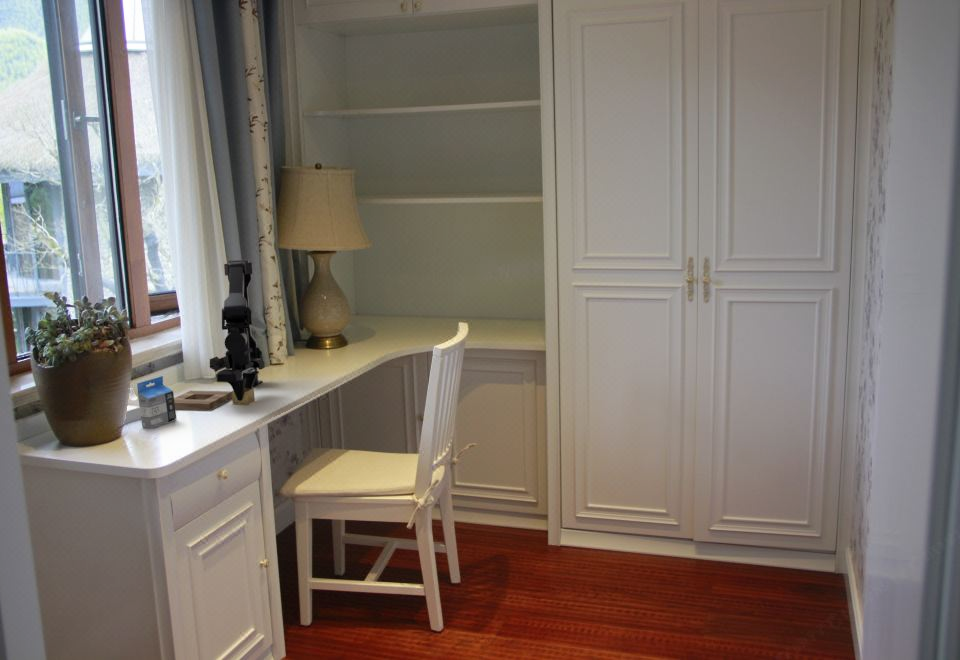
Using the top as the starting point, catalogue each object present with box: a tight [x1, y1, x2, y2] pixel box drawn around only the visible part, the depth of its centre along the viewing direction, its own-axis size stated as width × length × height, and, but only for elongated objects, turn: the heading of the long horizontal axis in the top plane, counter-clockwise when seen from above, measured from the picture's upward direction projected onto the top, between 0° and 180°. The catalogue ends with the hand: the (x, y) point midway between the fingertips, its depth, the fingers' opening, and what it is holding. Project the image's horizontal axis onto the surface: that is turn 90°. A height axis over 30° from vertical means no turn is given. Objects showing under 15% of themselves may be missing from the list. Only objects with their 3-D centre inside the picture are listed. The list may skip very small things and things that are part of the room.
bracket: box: [123, 387, 141, 425], centre depth 238 cm, size 13×7×8 cm, turn 152°
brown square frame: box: [174, 390, 233, 412], centre depth 254 cm, size 14×14×2 cm
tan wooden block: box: [231, 387, 256, 406], centre depth 253 cm, size 4×5×4 cm
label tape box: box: [136, 375, 177, 429], centre depth 233 cm, size 9×4×12 cm, turn 153°
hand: (243, 398), depth 253 cm, fingers closed on tan wooden block, 4 cm apart
